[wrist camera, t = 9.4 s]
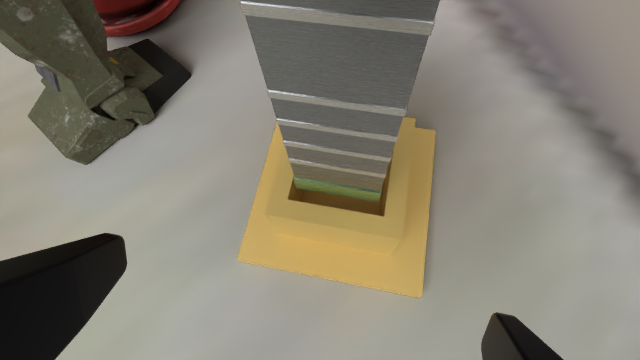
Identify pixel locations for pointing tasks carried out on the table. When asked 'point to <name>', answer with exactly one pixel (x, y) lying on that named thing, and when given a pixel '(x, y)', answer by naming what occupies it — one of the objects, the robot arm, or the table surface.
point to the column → (340, 83)
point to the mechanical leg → (86, 74)
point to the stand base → (347, 221)
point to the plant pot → (132, 14)
